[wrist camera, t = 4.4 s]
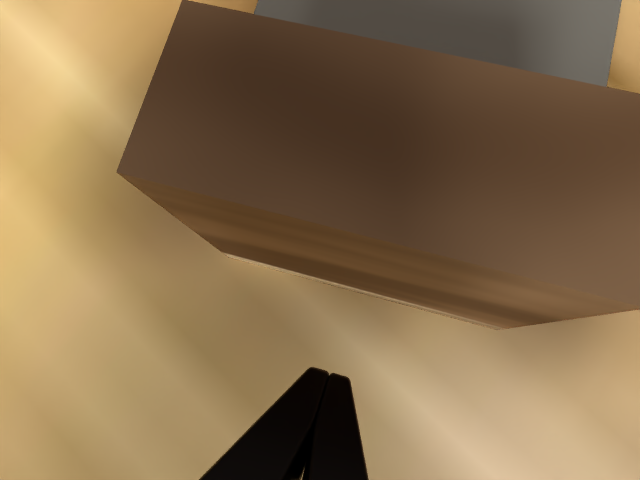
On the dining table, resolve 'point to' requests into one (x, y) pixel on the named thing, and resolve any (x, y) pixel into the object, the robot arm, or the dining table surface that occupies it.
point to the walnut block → (394, 169)
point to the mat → (477, 29)
